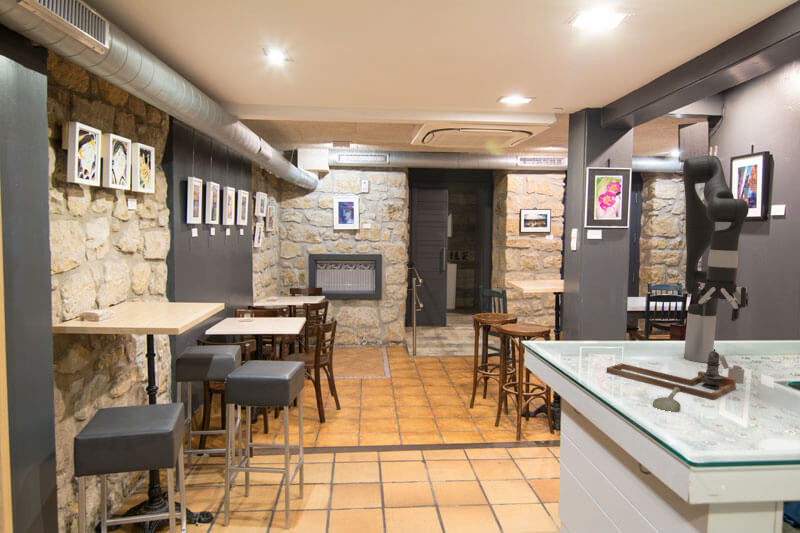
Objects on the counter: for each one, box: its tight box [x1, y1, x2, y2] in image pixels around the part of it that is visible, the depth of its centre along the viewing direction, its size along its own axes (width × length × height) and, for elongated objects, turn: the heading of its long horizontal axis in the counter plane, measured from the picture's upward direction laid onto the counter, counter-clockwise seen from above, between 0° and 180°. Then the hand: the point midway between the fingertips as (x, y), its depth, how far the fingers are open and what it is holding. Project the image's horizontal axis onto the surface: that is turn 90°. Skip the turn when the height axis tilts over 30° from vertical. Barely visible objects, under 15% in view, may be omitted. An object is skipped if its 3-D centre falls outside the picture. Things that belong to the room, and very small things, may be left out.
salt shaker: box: [700, 348, 724, 391], centre depth 156 cm, size 6×6×12 cm
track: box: [605, 362, 737, 401], centre depth 162 cm, size 18×32×3 cm, turn 40°
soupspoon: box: [652, 387, 681, 413], centre depth 142 cm, size 22×3×7 cm
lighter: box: [719, 354, 745, 385], centre depth 163 cm, size 7×2×8 cm, turn 56°
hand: (717, 318), depth 154 cm, fingers open, 8 cm apart
